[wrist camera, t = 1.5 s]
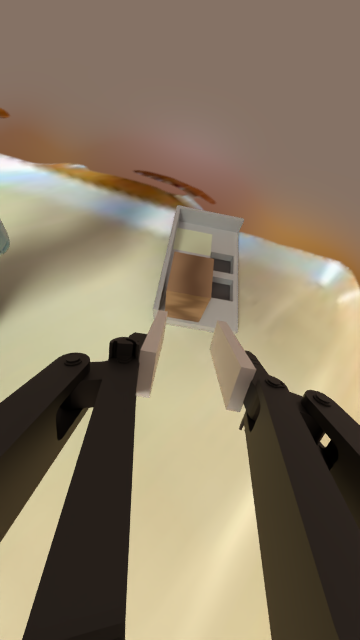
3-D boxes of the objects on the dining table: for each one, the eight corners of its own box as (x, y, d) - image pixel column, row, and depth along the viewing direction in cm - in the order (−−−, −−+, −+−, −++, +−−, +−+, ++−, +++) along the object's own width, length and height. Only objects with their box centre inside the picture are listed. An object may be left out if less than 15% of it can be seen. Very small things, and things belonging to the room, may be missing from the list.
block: (164, 316, 31) (166, 290, 24) (171, 283, 34) (174, 251, 27) (198, 322, 31) (211, 298, 24) (202, 289, 34) (214, 258, 27)
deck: (153, 321, 33) (153, 309, 28) (175, 225, 44) (177, 205, 39) (233, 335, 33) (245, 325, 29) (234, 237, 44) (243, 218, 40)
